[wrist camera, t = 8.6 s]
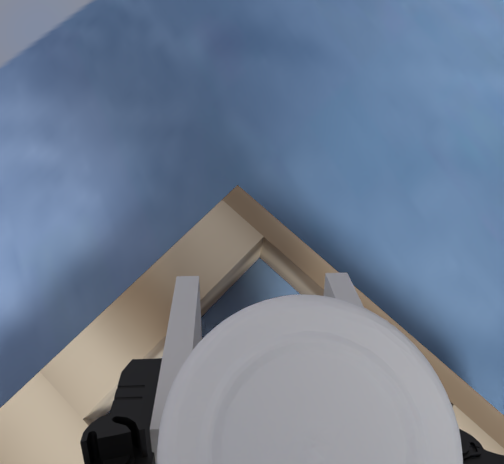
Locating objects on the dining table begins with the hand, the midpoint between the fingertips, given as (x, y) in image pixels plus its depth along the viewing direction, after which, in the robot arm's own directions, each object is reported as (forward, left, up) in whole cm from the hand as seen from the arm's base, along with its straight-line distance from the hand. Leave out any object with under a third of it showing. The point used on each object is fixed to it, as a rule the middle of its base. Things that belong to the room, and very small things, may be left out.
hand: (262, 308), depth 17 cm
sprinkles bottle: (+3, +3, -4) cm, 6 cm away
